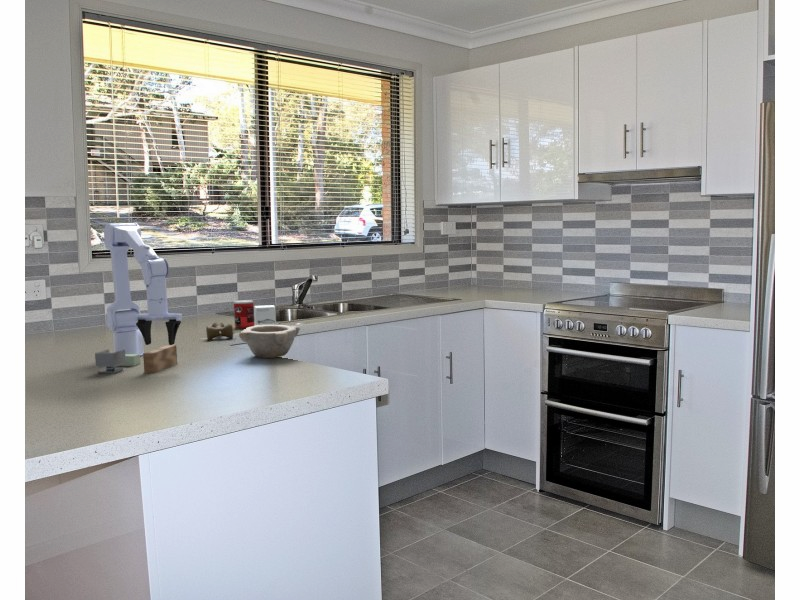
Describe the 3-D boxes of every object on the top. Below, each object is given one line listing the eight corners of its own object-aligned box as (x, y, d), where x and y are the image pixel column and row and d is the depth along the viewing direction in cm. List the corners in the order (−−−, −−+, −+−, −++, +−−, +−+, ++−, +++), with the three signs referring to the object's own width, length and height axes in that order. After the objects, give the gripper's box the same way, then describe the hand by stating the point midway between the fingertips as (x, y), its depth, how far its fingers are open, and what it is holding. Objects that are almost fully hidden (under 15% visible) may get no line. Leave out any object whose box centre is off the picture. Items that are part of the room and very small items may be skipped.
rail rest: (125, 363, 223) (125, 353, 223) (140, 363, 222) (139, 354, 222) (119, 365, 220) (118, 356, 220) (134, 365, 219) (133, 356, 219)
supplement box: (256, 342, 257) (255, 307, 256) (255, 339, 264) (253, 305, 263) (277, 341, 259) (275, 306, 258) (275, 338, 266) (273, 304, 265)
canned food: (234, 326, 298) (232, 300, 297) (253, 325, 301) (252, 299, 300) (235, 329, 291) (234, 302, 290) (255, 328, 293) (254, 301, 292)
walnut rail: (168, 363, 222) (167, 345, 221) (177, 364, 221) (176, 345, 220) (144, 373, 208) (143, 353, 207) (153, 373, 207) (152, 353, 207)
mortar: (285, 361, 220) (284, 332, 219) (235, 360, 224) (233, 331, 223) (304, 351, 237) (303, 324, 236) (257, 350, 240) (256, 323, 239)
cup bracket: (108, 369, 215) (106, 349, 214) (126, 369, 214) (124, 349, 213) (96, 373, 209) (94, 353, 208) (114, 373, 208) (113, 353, 207)
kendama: (231, 334, 281) (234, 340, 262) (206, 336, 279) (207, 343, 259) (229, 319, 281) (233, 324, 262) (204, 321, 278) (206, 327, 259)
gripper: (127, 301, 210) (130, 346, 211) (173, 300, 207) (176, 346, 208) (140, 298, 216) (143, 342, 218) (184, 298, 214) (187, 342, 215)
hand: (160, 344), depth 214 cm, fingers open, 7 cm apart
